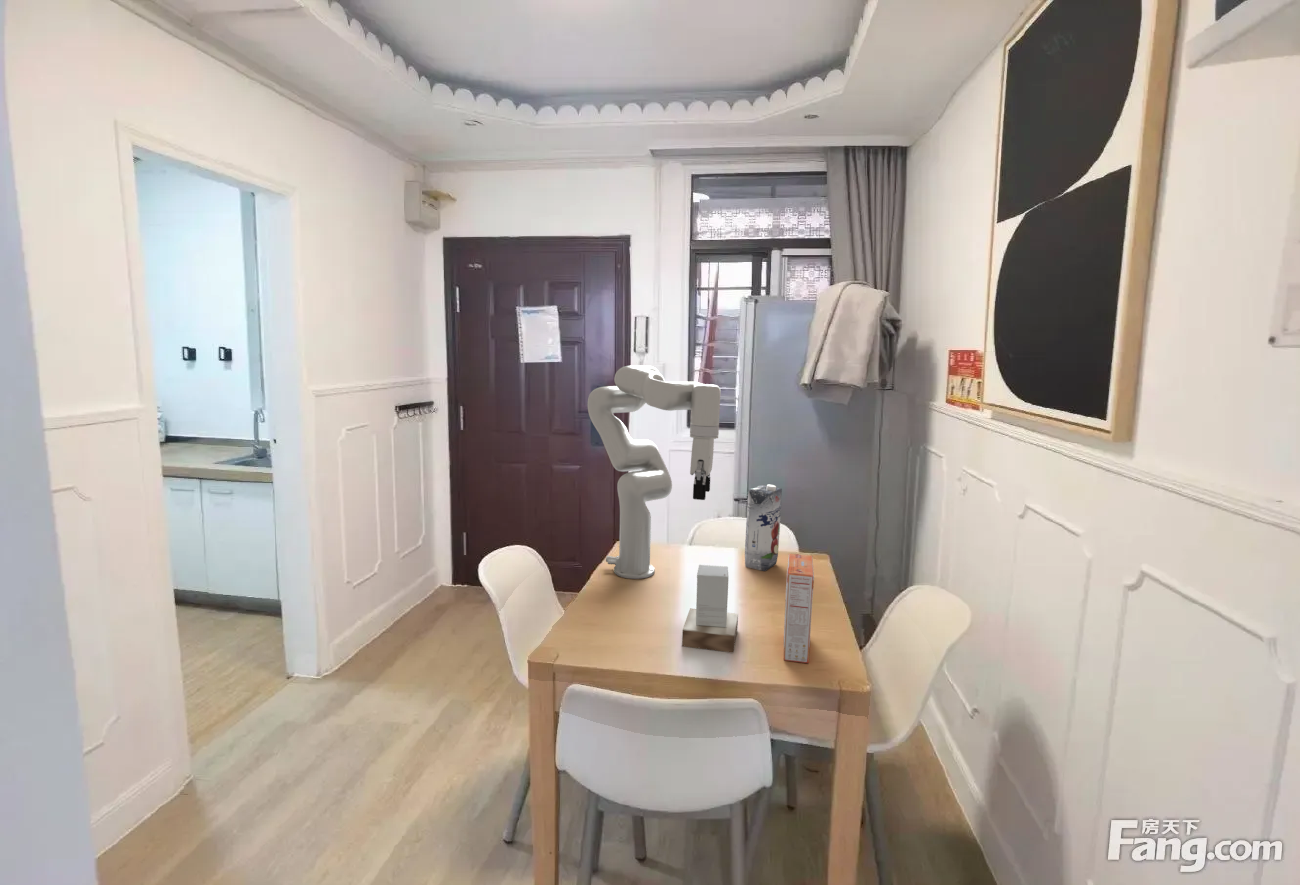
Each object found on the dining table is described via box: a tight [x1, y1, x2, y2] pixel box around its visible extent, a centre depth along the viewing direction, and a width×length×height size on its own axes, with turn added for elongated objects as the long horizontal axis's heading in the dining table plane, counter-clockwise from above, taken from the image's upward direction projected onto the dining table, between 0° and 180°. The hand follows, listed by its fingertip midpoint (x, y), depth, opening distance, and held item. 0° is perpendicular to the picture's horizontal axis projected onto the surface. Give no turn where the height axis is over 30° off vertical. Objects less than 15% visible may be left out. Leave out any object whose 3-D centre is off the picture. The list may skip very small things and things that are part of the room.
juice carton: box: [744, 484, 783, 572], centre depth 200 cm, size 9×10×27 cm
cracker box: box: [783, 553, 815, 664], centre depth 145 cm, size 14×6×21 cm, turn 167°
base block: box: [681, 608, 739, 654], centre depth 150 cm, size 12×12×4 cm
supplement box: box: [695, 564, 729, 627], centre depth 149 cm, size 7×7×13 cm
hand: (701, 495), depth 167 cm, fingers open, 9 cm apart
